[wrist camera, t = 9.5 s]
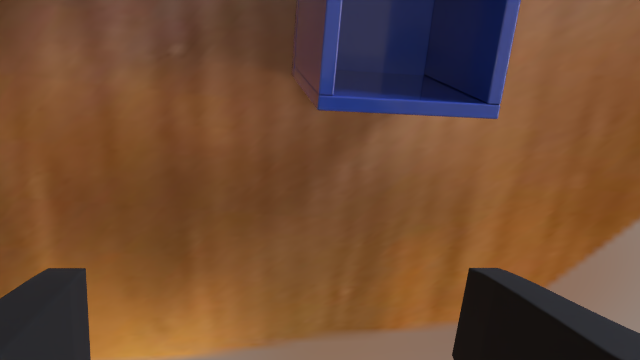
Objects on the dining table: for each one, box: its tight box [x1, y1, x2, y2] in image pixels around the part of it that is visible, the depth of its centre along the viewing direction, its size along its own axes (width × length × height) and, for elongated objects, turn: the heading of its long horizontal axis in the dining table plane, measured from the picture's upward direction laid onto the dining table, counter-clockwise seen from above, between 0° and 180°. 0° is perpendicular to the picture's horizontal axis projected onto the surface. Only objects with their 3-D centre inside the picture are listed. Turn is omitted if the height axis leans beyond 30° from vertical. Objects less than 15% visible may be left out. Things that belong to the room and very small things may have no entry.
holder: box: [292, 0, 521, 119], centre depth 16 cm, size 5×5×6 cm
